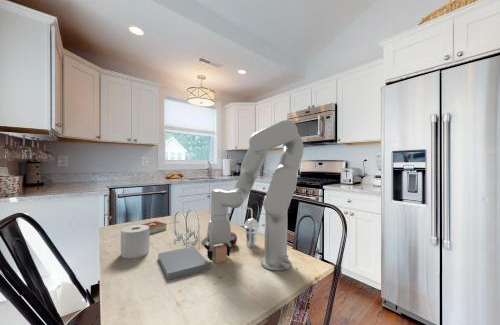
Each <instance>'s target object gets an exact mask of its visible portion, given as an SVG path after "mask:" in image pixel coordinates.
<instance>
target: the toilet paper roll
mask: <svg viewBox="0 0 500 325" xmlns="http://www.w3.org/2000/svg"><path fill="white" fill-rule="evenodd" d="M149 252H150V234H149V226H147V225H141V224H134V225H129V226H126V227H123V228H121V230H120V257H121V258H122V259H137V258H141V257H144V256H146V255H147V254H149Z"/></svg>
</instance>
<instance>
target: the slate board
mask: <svg viewBox="0 0 500 325" xmlns="http://www.w3.org/2000/svg"><path fill="white" fill-rule="evenodd" d="M157 259H158V261H159V264H160V266H161V268H162V271H163V272H164V276H165V277H166V279H167V281H169V280H170V281H171V280H173V279H177V278H181V277H185V276H189V275H191V274H192V275H193V274H197V273H201V272H204V271H207V270H210V262H209V261H208V260H207V259H206V258H205V257H204V256H203V255H202V254H201V252H199V250H198V249H197V248H196V246H188V247H184V248H179V249H174V250H170V251H165V252H159V253H157Z"/></svg>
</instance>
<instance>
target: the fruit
mask: <svg viewBox="0 0 500 325" xmlns="http://www.w3.org/2000/svg"><path fill="white" fill-rule="evenodd" d="M231 233H232V234H234V235H235V236H236V238H235V240H234V242H233V243H232V245H231V247H230V248H234V246H235V245H237V241H238V236H237V233H235V232H233V231H231ZM231 238H232V236H231ZM222 244H224V245H225V246H226V243H222Z"/></svg>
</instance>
